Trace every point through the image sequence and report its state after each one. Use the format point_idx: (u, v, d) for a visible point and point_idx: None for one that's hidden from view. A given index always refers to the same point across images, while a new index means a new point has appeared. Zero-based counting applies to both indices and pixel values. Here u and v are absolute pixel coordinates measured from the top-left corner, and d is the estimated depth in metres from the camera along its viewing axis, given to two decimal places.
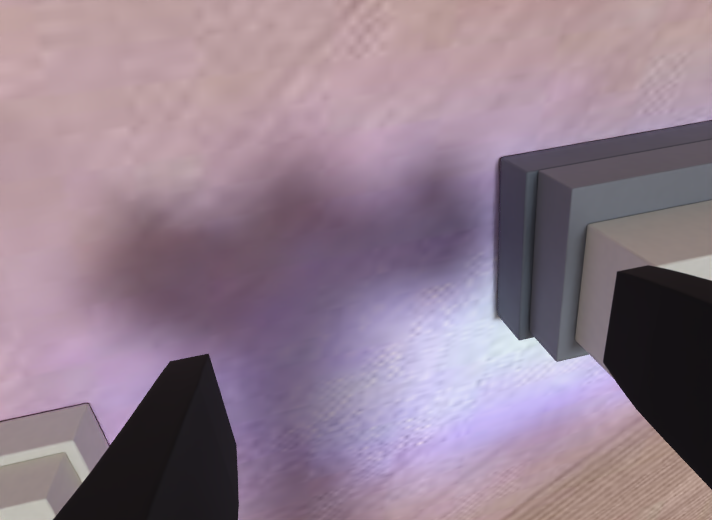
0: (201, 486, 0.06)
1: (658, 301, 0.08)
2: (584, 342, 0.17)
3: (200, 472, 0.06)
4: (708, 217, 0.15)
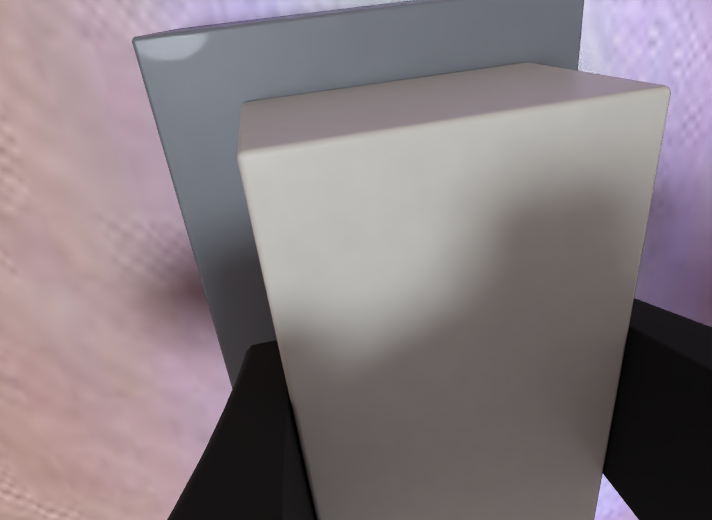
0: (300, 462, 0.06)
1: None
2: None
3: (298, 449, 0.06)
4: None
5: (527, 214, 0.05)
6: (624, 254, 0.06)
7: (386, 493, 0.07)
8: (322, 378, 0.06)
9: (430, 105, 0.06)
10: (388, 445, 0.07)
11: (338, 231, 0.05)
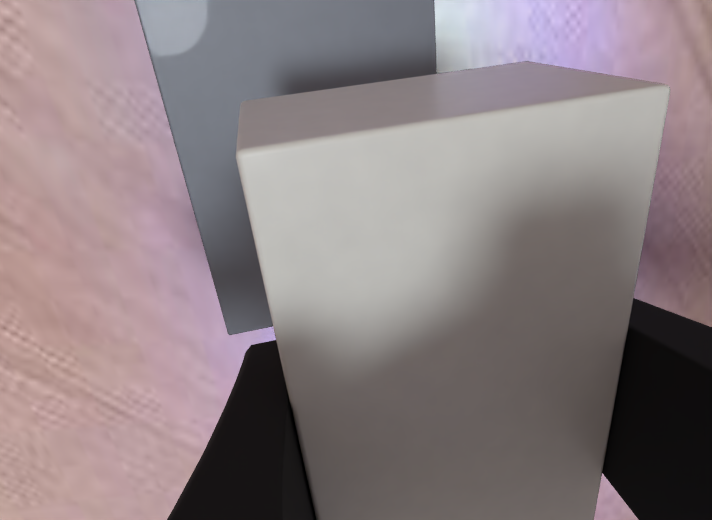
0: (299, 462, 0.06)
1: None
2: None
3: (298, 449, 0.06)
4: None
5: (527, 212, 0.05)
6: (623, 252, 0.06)
7: (385, 493, 0.07)
8: (321, 377, 0.06)
9: (429, 103, 0.05)
10: (387, 444, 0.07)
11: (337, 230, 0.05)
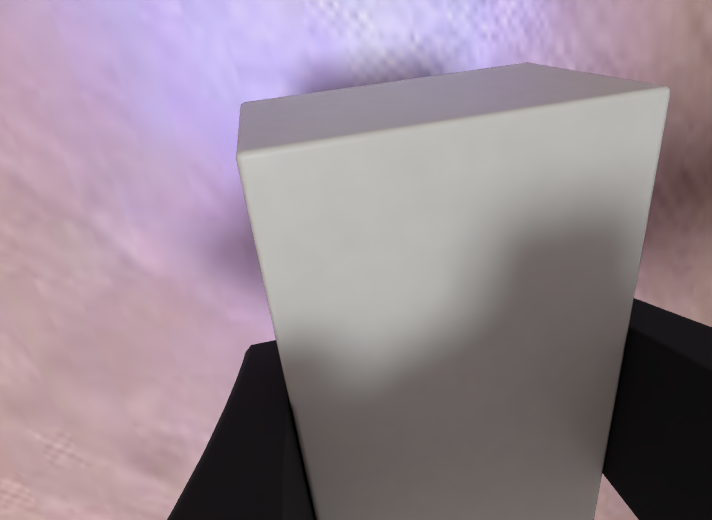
0: (300, 462, 0.06)
1: None
2: None
3: (298, 449, 0.06)
4: None
5: (527, 214, 0.05)
6: (623, 254, 0.06)
7: (385, 493, 0.07)
8: (321, 379, 0.06)
9: (429, 105, 0.06)
10: (388, 445, 0.07)
11: (338, 232, 0.05)
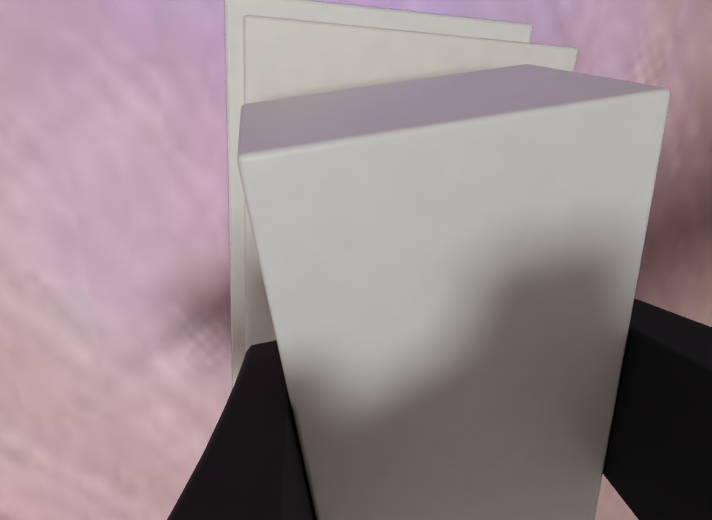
0: (300, 462, 0.06)
1: None
2: None
3: (298, 449, 0.06)
4: None
5: (527, 216, 0.05)
6: (624, 256, 0.06)
7: (387, 495, 0.07)
8: (321, 380, 0.06)
9: (430, 107, 0.06)
10: (389, 446, 0.07)
11: (339, 234, 0.05)
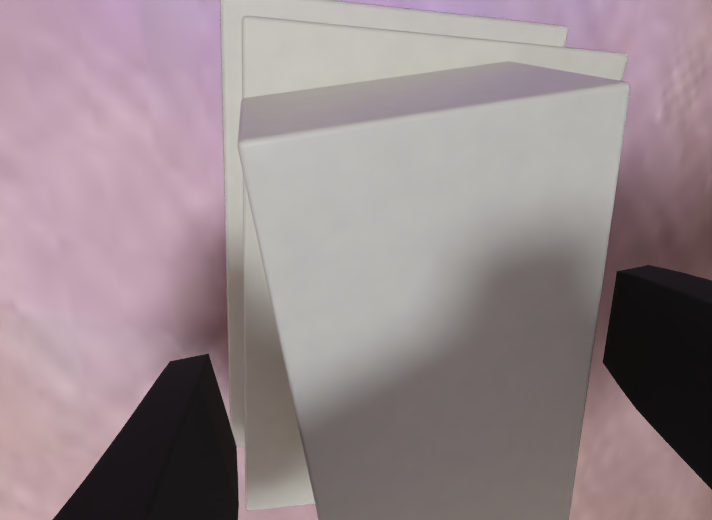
0: (202, 485, 0.06)
1: (658, 301, 0.08)
2: None
3: (200, 472, 0.06)
4: None
5: (502, 199, 0.06)
6: (592, 236, 0.06)
7: (375, 461, 0.08)
8: (314, 351, 0.06)
9: (413, 99, 0.06)
10: (378, 414, 0.07)
11: (329, 214, 0.06)
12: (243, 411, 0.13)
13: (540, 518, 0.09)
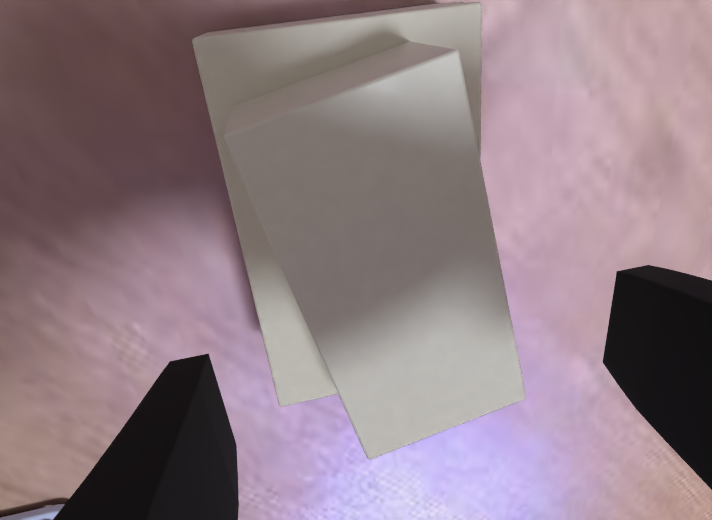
0: (201, 485, 0.06)
1: (658, 301, 0.08)
2: (240, 106, 0.11)
3: (200, 472, 0.06)
4: None
5: (413, 409, 0.12)
6: (357, 408, 0.12)
7: (451, 253, 0.11)
8: (495, 324, 0.12)
9: None
10: (455, 289, 0.11)
11: (491, 385, 0.13)
12: None
13: (286, 200, 0.09)
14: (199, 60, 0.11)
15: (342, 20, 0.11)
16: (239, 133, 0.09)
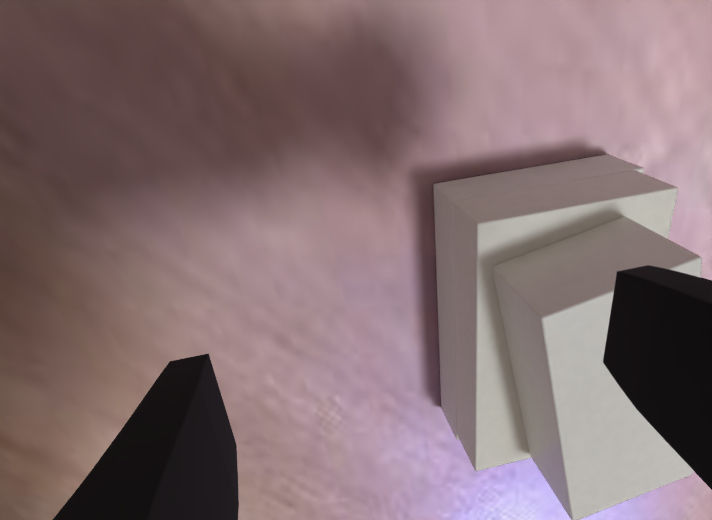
0: (201, 486, 0.06)
1: (658, 301, 0.08)
2: (509, 271, 0.15)
3: (200, 472, 0.06)
4: None
5: (613, 485, 0.16)
6: (575, 486, 0.16)
7: None
8: None
9: None
10: None
11: (671, 466, 0.17)
12: None
13: (569, 354, 0.13)
14: (479, 237, 0.15)
15: (581, 205, 0.15)
16: (553, 316, 0.13)
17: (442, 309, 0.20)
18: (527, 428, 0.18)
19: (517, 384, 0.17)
